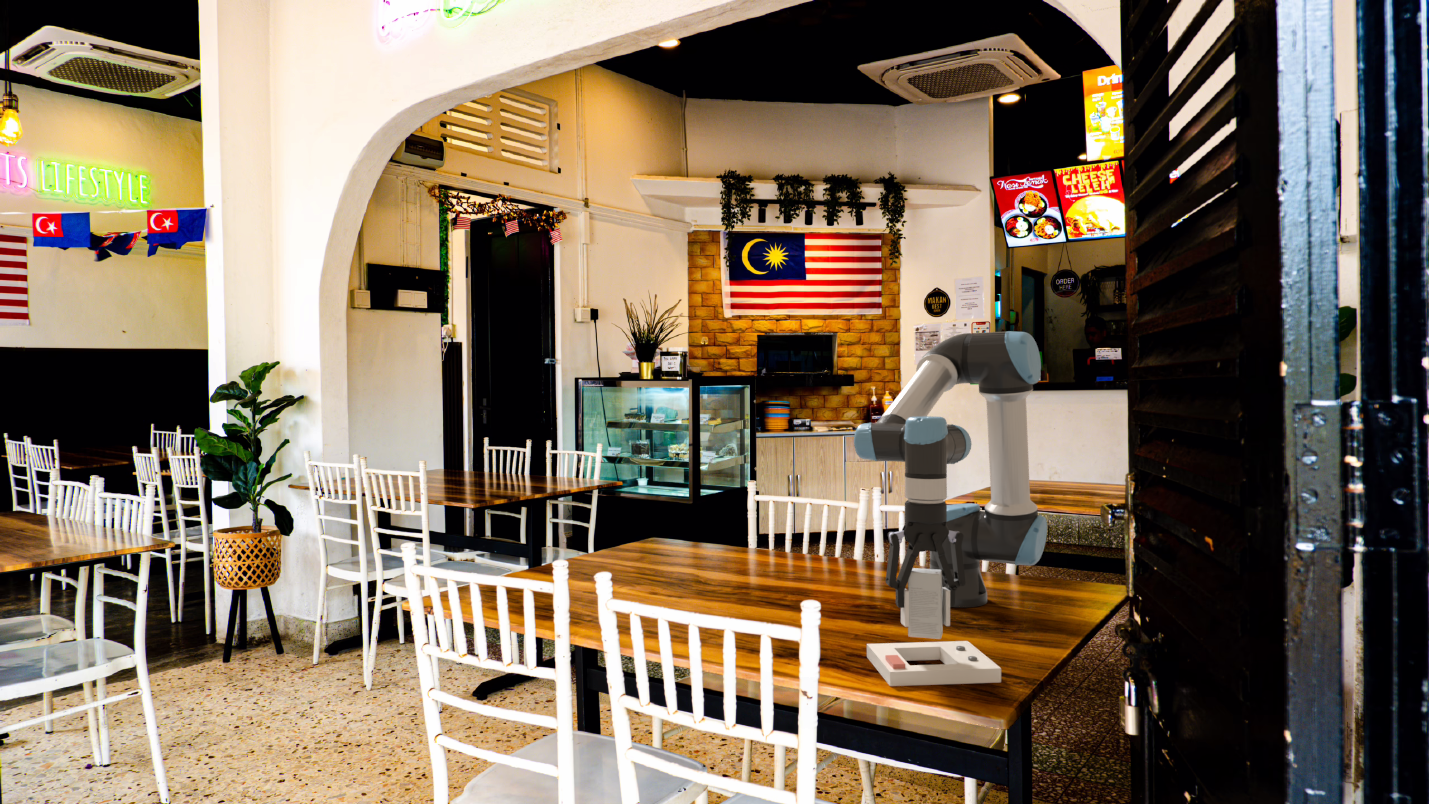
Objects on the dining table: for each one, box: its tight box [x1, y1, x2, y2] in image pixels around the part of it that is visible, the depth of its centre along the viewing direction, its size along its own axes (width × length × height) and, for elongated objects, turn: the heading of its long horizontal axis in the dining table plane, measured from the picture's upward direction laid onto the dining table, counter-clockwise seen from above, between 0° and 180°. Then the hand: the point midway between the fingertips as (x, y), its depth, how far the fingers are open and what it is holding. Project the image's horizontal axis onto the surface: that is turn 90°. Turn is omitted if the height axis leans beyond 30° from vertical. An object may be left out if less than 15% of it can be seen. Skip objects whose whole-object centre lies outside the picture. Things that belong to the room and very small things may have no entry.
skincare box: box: [907, 567, 944, 640], centre depth 157 cm, size 6×4×12 cm
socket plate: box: [866, 640, 1002, 687], centre depth 158 cm, size 20×16×3 cm
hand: (925, 624), depth 157 cm, fingers closed on skincare box, 7 cm apart
